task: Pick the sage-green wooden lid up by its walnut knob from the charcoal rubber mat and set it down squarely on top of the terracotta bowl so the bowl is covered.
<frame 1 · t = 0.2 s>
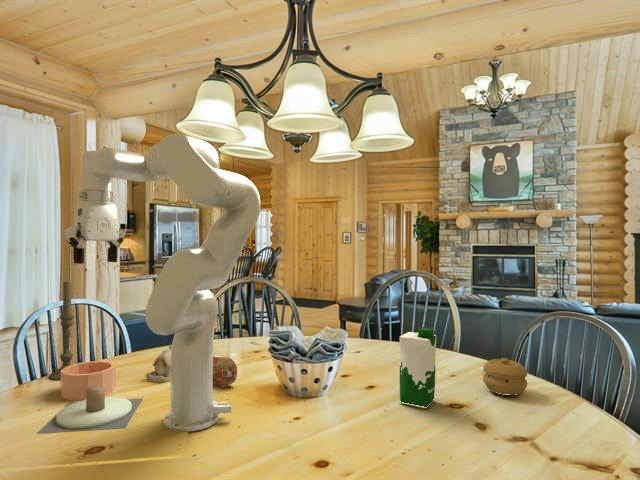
hand: (96, 262, 114), 36 cm above the table, tool pointing down, fingers open, 9 cm apart
bowl: (88, 393, 118), on the table
mat: (95, 416, 103), on the table
tin: (215, 384, 127), on the table
candlestick holder: (66, 376, 133), on the table
lid: (95, 414, 103), point 1 cm above the table, touching mat
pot: (504, 393, 123), on the table
ceramic model: (170, 378, 133), on the table
milk carton: (416, 403, 115), on the table
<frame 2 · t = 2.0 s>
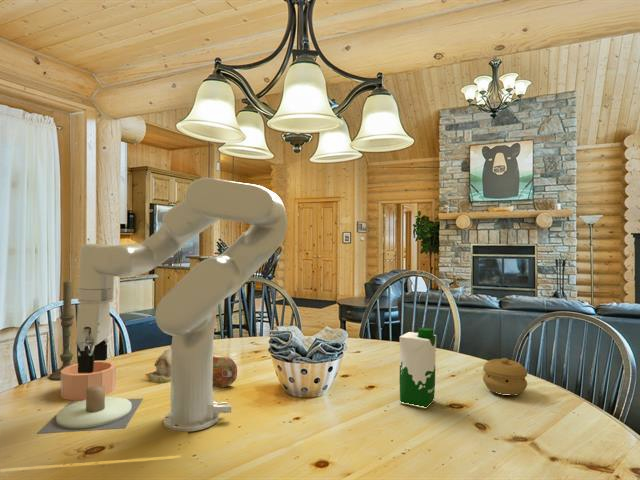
hand: (92, 366, 103), 12 cm above the table, tool pointing down, fingers open, 9 cm apart
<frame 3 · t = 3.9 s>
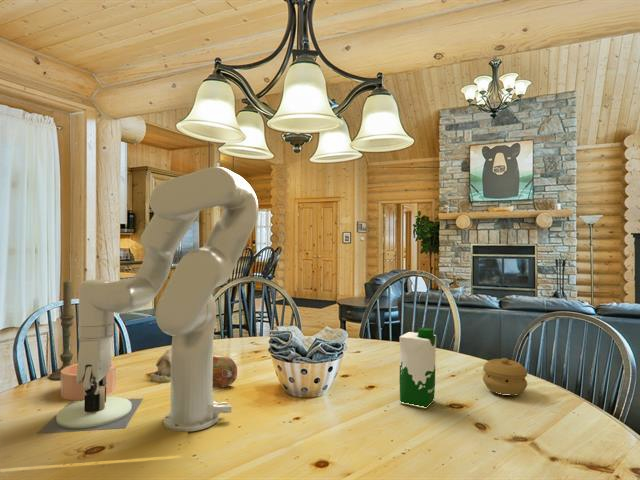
hand: (95, 406, 103), 2 cm above the table, tool pointing down, fingers closed on lid, 4 cm apart
lid: (95, 414, 103), point 1 cm above the table, touching gripper, mat
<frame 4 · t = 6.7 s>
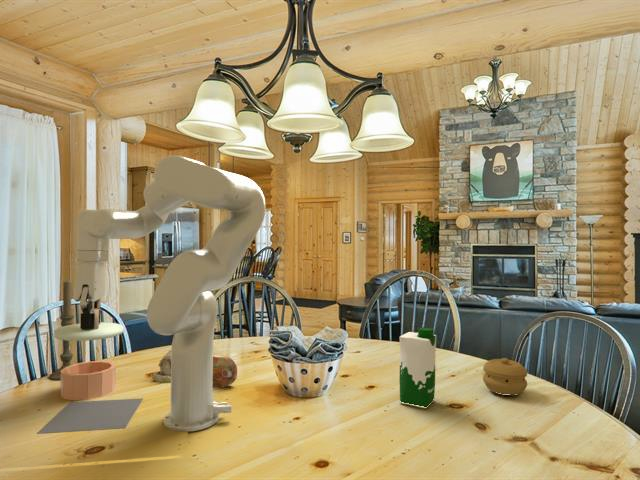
hand: (90, 326, 112), 20 cm above the table, tool pointing down, fingers closed on lid, 4 cm apart
lid: (89, 333, 112), point 18 cm above the table, touching gripper
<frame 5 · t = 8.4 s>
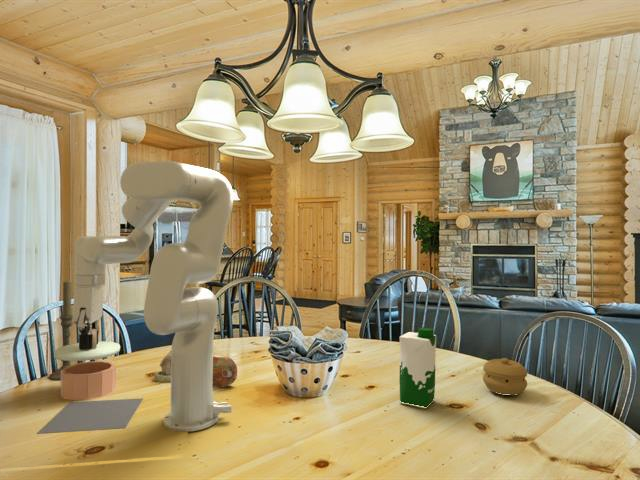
hand: (88, 346, 118), 13 cm above the table, tool pointing down, fingers closed on lid, 4 cm apart
lid: (88, 352, 118), point 11 cm above the table, touching gripper
when the fingers open (10 cm above the table, at t = 9.7 s): lid drops 1 cm, resting on bowl.
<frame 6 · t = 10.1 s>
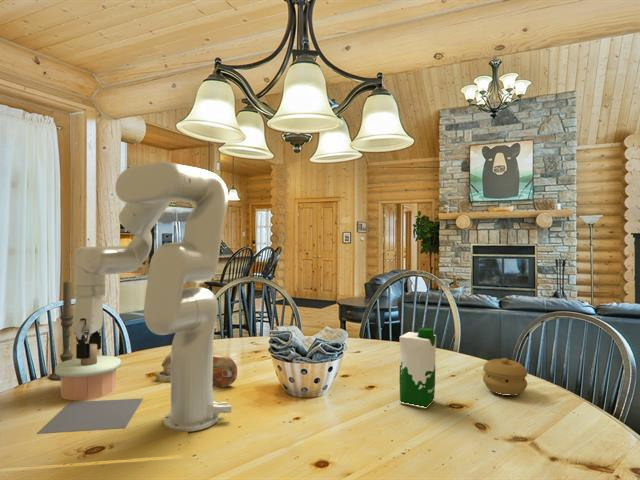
hand: (89, 353, 118), 11 cm above the table, tool pointing down, fingers open, 8 cm apart
lid: (88, 367, 118), point 7 cm above the table, touching bowl
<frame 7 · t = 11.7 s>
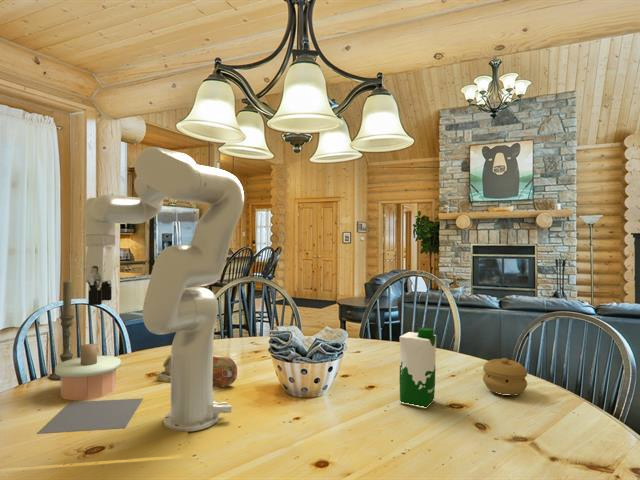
hand: (100, 302, 120), 25 cm above the table, tool pointing down, fingers open, 9 cm apart
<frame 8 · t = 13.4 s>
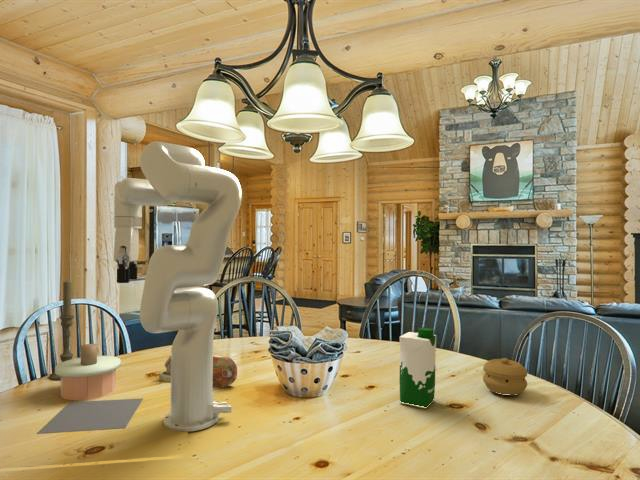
hand: (127, 281, 127), 30 cm above the table, tool pointing down, fingers open, 9 cm apart
at the end: lid 0.0 cm off-centre on the bowl, point 7.0 cm above the bowl's base; lid tilted 0°; the gripper is holding nothing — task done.
